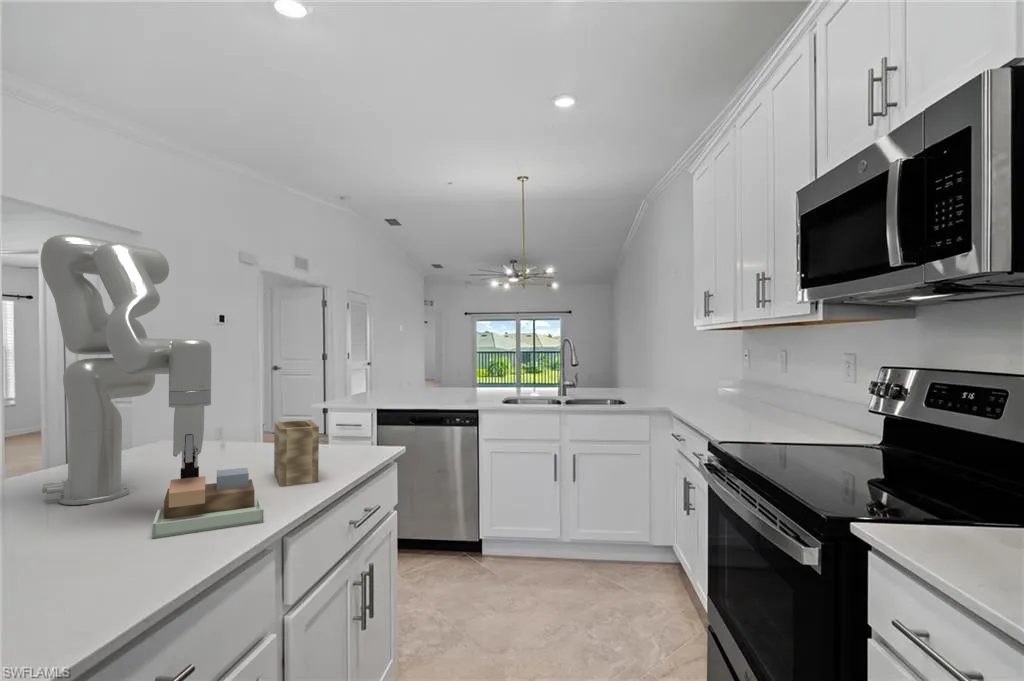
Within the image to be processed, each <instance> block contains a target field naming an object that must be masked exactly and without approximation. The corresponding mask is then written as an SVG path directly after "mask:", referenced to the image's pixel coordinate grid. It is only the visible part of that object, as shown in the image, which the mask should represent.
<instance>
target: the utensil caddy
mask: <svg viewBox="0 0 1024 681" xmlns="http://www.w3.org/2000/svg"><path fill="white" fill-rule="evenodd" d="M319 429H320V427H319V426H318V425H317V424H316V423H315V422H313V420H311V419H300V420H299V419H298V420H286V421H274V429H273V430H274V433H273V434H274V436H273V437H274V441H273V443H274V446H273V447H274V448H273V449H274V450H273V455H274V456H273V459H274V460H273V462H274V463H273V475H274V477H275V480H276V481H277V484H278V486H279V487H280V488H281V487H290V486H297V485H298V486H299V485H305V484H314V483H319V459H320V458H319V457H320V456H319V453H320V452H319V450H320V449H319V448H320V447H319V446H320V445H319V444H320V441H319V440H320V438H319V437H320V434H319V433H320V432H319V431H320V430H319Z"/></svg>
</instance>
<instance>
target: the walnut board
mask: <svg viewBox="0 0 1024 681" xmlns="http://www.w3.org/2000/svg"><path fill="white" fill-rule="evenodd" d="M169 489H170V487H169V488H167V490H166V494H165V497H164V499H163V519H170V518H177V517H185V516H192V515H200V514H207V513H215V512H222V511H230V510H237V509H244V508H252V507H255V487H254V483H253V480H252V479H250V478H249V482H248V487H246V488H237V489H229V490H220V491H217V482H213V483H205V503H203V504H196V505H188V506H180V507H172V508H169Z"/></svg>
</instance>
